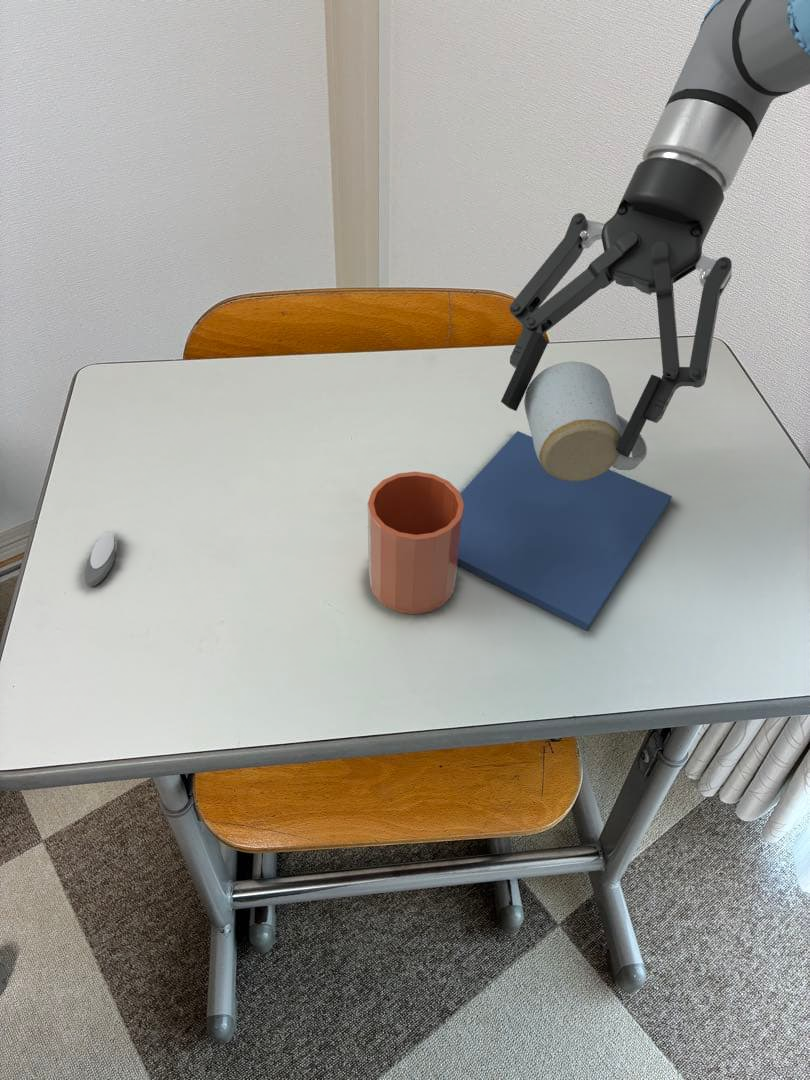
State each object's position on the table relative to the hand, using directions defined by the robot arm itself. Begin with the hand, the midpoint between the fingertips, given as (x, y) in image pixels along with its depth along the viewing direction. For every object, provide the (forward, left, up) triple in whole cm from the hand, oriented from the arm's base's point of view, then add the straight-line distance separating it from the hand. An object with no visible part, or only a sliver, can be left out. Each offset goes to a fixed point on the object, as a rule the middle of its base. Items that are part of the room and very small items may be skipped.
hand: (563, 429), depth 67 cm
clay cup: (+8, +11, -14) cm, 20 cm away
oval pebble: (+33, +26, -15) cm, 44 cm away
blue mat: (+1, -3, -14) cm, 15 cm away
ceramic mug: (-1, -3, -4) cm, 5 cm away
